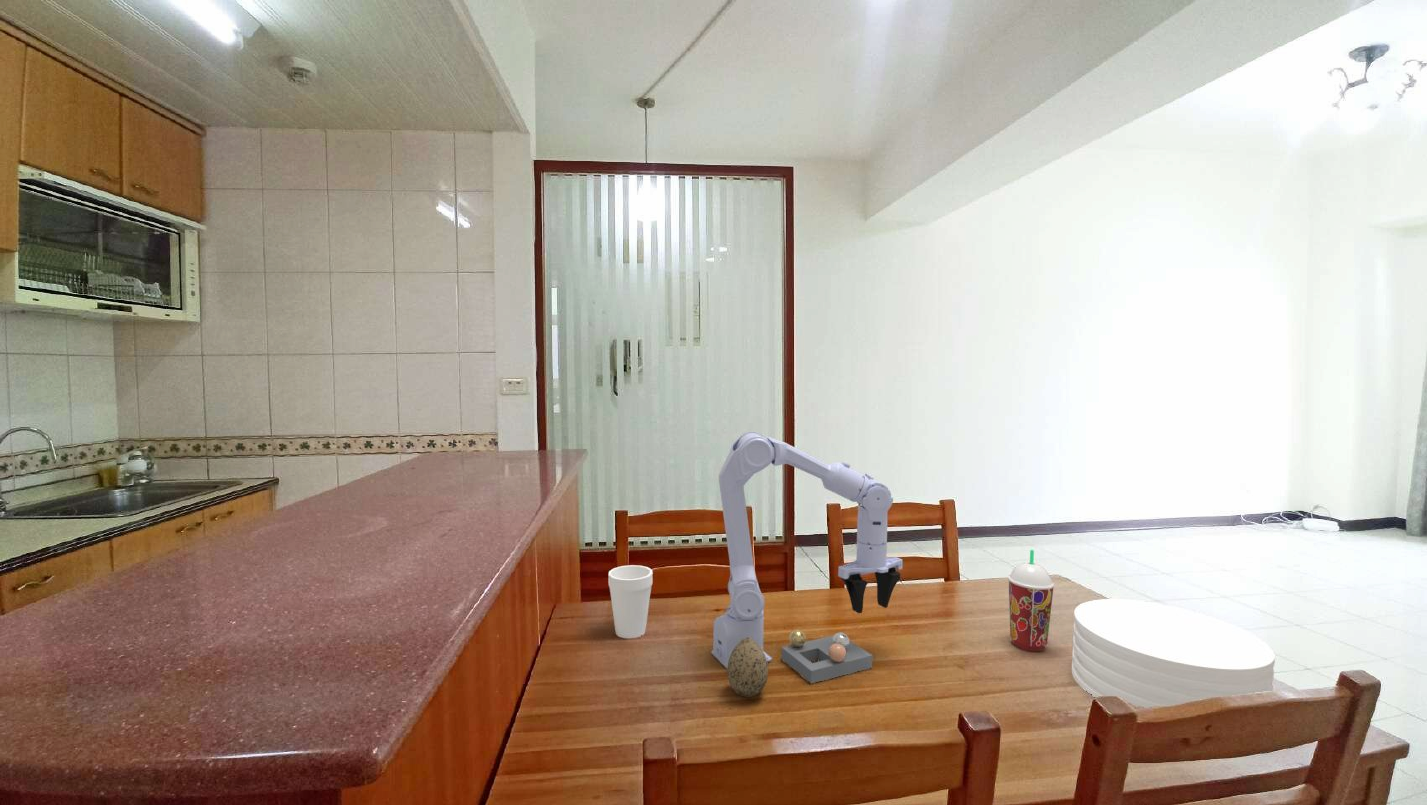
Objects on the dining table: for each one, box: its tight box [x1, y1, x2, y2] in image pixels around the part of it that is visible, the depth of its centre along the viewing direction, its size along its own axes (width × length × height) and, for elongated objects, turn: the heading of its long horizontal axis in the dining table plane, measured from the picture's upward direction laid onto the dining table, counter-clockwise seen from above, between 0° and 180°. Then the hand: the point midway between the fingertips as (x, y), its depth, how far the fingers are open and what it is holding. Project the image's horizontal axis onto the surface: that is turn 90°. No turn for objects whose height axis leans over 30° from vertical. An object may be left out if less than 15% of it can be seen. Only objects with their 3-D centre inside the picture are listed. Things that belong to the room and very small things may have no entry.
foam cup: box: [607, 564, 654, 639], centre depth 127 cm, size 10×9×13 cm
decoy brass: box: [788, 629, 807, 647], centre depth 116 cm, size 3×3×3 cm
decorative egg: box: [726, 638, 769, 698], centre depth 103 cm, size 7×7×10 cm
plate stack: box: [1071, 598, 1276, 708], centre depth 106 cm, size 28×28×12 cm
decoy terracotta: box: [829, 643, 846, 662], centre depth 111 cm, size 3×3×3 cm
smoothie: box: [1007, 549, 1055, 652], centre depth 123 cm, size 8×8×20 cm
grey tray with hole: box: [780, 634, 874, 684], centre depth 114 cm, size 14×10×2 cm
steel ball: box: [833, 632, 850, 649], centre depth 115 cm, size 3×3×3 cm
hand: (870, 608), depth 118 cm, fingers open, 6 cm apart
